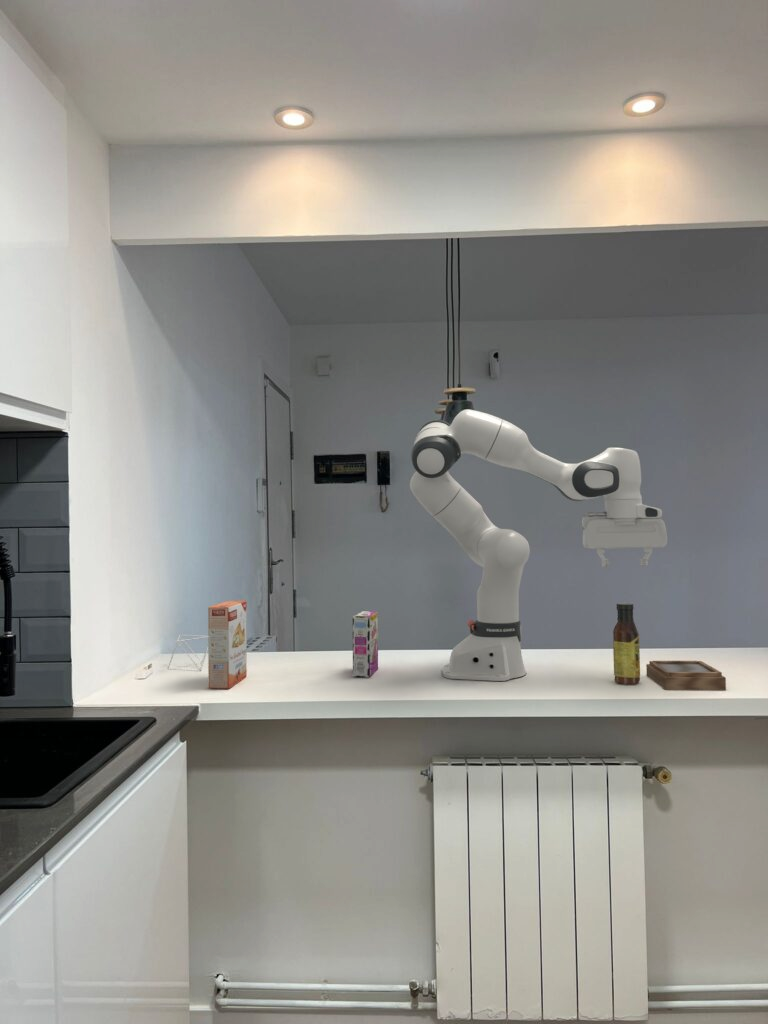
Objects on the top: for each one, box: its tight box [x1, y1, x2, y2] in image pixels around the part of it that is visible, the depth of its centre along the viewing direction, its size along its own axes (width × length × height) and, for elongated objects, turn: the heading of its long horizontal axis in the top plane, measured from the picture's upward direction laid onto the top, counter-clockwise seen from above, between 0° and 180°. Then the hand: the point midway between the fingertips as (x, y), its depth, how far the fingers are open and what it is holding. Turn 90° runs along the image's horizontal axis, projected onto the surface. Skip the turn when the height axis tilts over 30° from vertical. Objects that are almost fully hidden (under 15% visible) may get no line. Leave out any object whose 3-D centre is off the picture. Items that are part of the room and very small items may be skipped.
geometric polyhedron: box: [167, 634, 208, 672], centre depth 199 cm, size 12×11×9 cm
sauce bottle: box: [612, 602, 641, 686], centre depth 173 cm, size 7×6×20 cm
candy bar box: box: [352, 610, 379, 679], centre depth 188 cm, size 11×5×16 cm, turn 168°
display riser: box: [645, 660, 727, 691], centre depth 172 cm, size 14×15×4 cm
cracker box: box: [207, 600, 248, 690], centre depth 180 cm, size 14×6×21 cm, turn 173°
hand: (624, 566), depth 173 cm, fingers open, 8 cm apart
